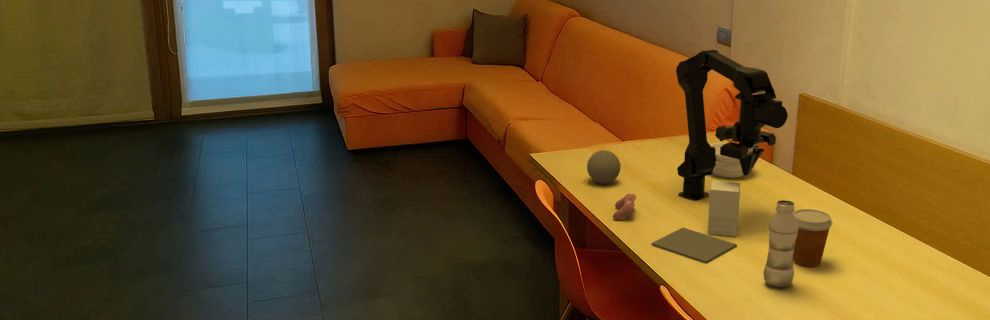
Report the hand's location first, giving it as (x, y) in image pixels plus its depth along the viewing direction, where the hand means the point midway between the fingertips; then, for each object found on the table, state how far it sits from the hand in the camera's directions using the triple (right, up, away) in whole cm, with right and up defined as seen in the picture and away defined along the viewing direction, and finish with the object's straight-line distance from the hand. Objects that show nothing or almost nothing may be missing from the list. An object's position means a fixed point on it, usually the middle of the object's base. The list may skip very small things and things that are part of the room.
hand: (745, 175), depth 239 cm
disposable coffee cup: (+9, -21, -21) cm, 31 cm away
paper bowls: (+6, 0, +40) cm, 41 cm away
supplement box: (-7, -15, -3) cm, 16 cm away
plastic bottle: (-2, -25, -33) cm, 41 cm away
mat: (-16, -18, -12) cm, 27 cm away
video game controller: (-31, -11, +9) cm, 34 cm away
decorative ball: (-34, -3, +34) cm, 48 cm away
